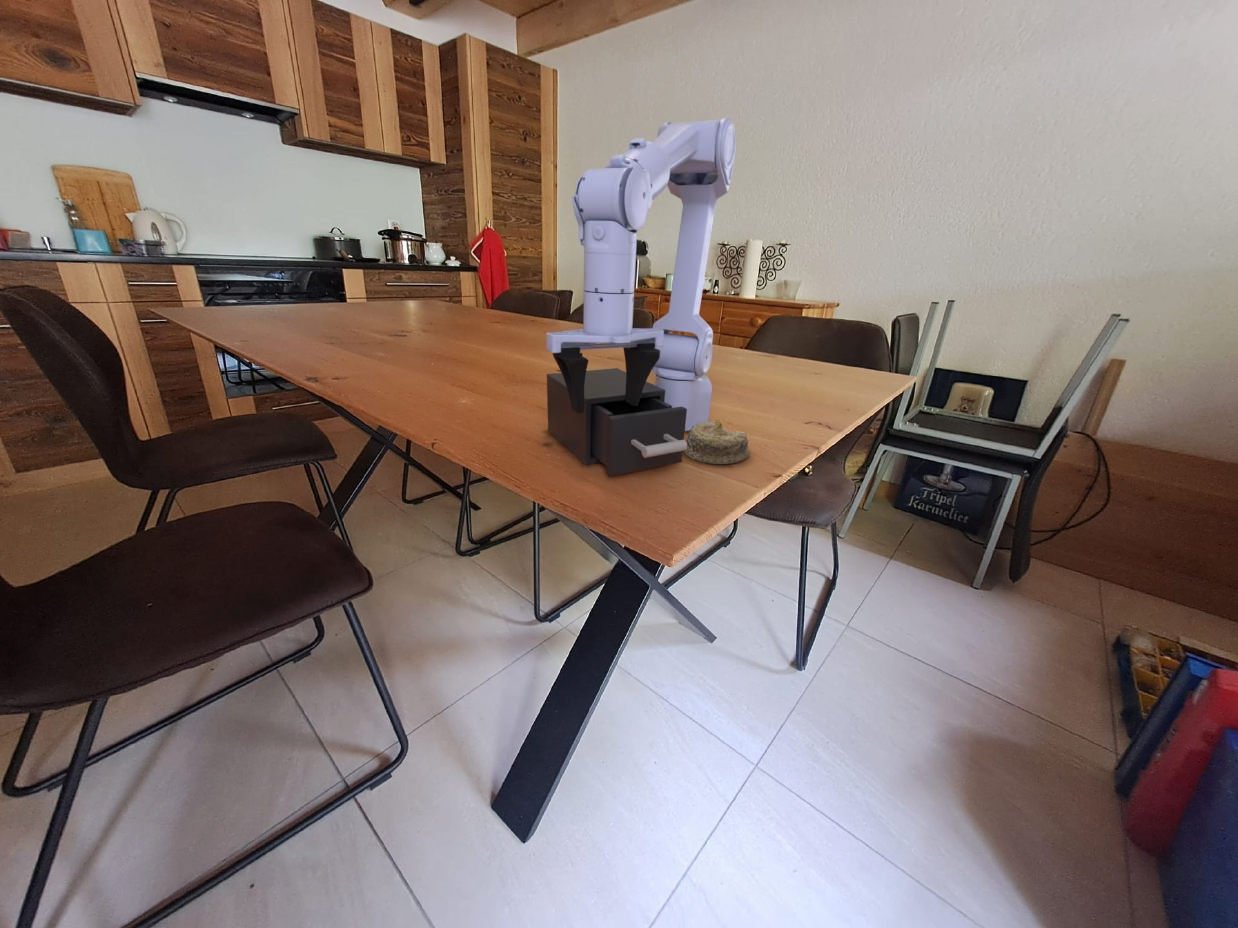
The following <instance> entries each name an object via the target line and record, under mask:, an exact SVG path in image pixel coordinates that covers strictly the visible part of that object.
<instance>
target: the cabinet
mask: <svg viewBox="0 0 1238 928" xmlns="http://www.w3.org/2000/svg"><path fill="white" fill-rule="evenodd" d="M625 393H626V371H625V370H623V369H620V368H618V367H613V368H602V369H591V370H586V376H585V384H584V411H583V413H577V412H576V411H574V410H573V409H572V407H571V401H570V397H569V393H568V389H567V386H566V383H565V380H564V378H563V375H562V373H561V372H557V373H556V372H555V373H547V374H546V398H547V399H546V400H547V401H546V402H547V432H548V433H549V434H550V435H551V436H552V437H554V438H555V439H556V440H557V441H558V442H559V443H560V444H562V446H563V447H565V448H566V449H567V450H568V451H569V452H570V453H571V454H573V456H575V457H576V458H577V459H578V460H579V461H580V462H581V463H582V464H584V465H585V466H588V465H593V464H594V465H595V464H599V463H602V462H601V461H600V460H598V459H597V458H596V457H595V456H594V455H592V454H591V453H590V451H591V404H597V403H605V402H614V401H622V400H626V394H625ZM647 397H655V398H657V399H659V400H661V401H663V402H664V401H665V390H664V389H662V388H659V387H657V386H655V384H653V383H651V382H648V381H646V383H645V385H644V388H643V391H642V394H641V397H640V398H647Z"/></svg>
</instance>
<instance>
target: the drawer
mask: <svg viewBox="0 0 1238 928" xmlns="http://www.w3.org/2000/svg"><path fill="white" fill-rule="evenodd" d="M686 414H687V409H686V408H684V407H675V408H672V406H671V405H669V404H667V403H665V402H663V401H661V400H659V399H657V398H655V397H647V398H640V401H639V404H638V406H633V405H631V404H629V403H627V402H626V400H622V401H614V402H605V403H597V404H591V451H590V453H591V454H592V455H594V456H595V457H596V458H597V459H598V460H600V461H601V462H600V463H602V464H603V465H604V466H605V474H607V475H608V476H609V477H614V476H619V475H623V474H624V475H625V474H628V473H629V474H630V473H634V472H638V471H643V470H648V469H654V468H658V467H664V466H668V465H669V466H670V465H673V464H678V463H682V462H683V452H684V450H686V449H687V440H686V439H685V433H686V431H685V424H686Z"/></svg>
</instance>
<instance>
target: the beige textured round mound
mask: <svg viewBox="0 0 1238 928" xmlns="http://www.w3.org/2000/svg"><path fill="white" fill-rule="evenodd" d="M686 442H687V449H686V450H684V451H683V452H684V454H685V455H686V456H687V457H688V458H690V459H692V460H694V461H696V462H701V463H707V464H713V465H729V464H737V463H739V462H741V461H745V460H746V459H747V458H749V456H750V449H749V439H748V434H746V432H745V431H739V430H736V431H733V432H729V431H728V430H727V429H725V428H724V425H723V423H722V420H721V419H716V420H715V422H713V421H708V423H707V422H703V423H701V424H700V423H698V424H696V425H695V426H692V428H691V429H690V431H688V434H687V439H686Z"/></svg>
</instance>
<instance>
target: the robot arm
mask: <svg viewBox="0 0 1238 928" xmlns="http://www.w3.org/2000/svg"><path fill="white" fill-rule="evenodd" d="M736 141H737V140H736V128H735V125H734V122H733V121H732V119H731V117H728V116H726V117H722V118H719V119H707V120H693V121H683V122H682V121H679V122H672V121H666V122H664V123H663V124H661V125H659V126H658V130H657V136H656V138H655V139H654V140H653V142H652V141H649V140H647V138H645V137H638V138H633V139H631V140H630V141H629V142H628V147H629V148H628V149H627V150H625V151H624V152H623V153H621V154H615V155H613V156H612V157H611V158H610V162H609V163H608V164H606V165H605V166H604V167H603V168H601V167H600V168H589V169H587V170H586V171H585V172H584V174H582V175H580V177H579V178H578V180H577V182H576V185H575V189H574V195H572V208H573V213H574V217H575V219H576V223H577V225H578V240H579V243H580V245H581V246H583V321H582V323H583V324H582V325H583V327H582V328H580V329H572V330H571V329H570V330H566V331H565V330H563V331H555V332H545V337H546V338H545V339H546V341H545V343H546V350H547V351H548V352H550V353H551V354H552V357H553V358H554V361H555V362H556V364H557V366H558V368H559V370H560V373H562V375H563V378H564V380H565V383H566V386H567V389H568V393H569V397H570V401H571V407H572V409H573V410H574V411H576V412H577V413H583V411H584V384H585V376H586V371H588V370H587V368H588V365H589V359H588V358H587V357H584V356H583V352H581V351H589V350H590V351H591V350H605V349H607V350H609V349H619V348H620V349H622V348H623V355H624V359H625V360H624V362H625V372H626V393H625V394H626V402H627V403H629V404H631V405H633V406H638V404H639V401H640V397H641V394H642V391H643V388H644V385H645V383H646V382H648V378H649V376H650V374H651V372H652V374H653V375H655V383H654V385H655V386H657V387H659V388H662V389H664V390H665V401H664V402H665V403H667V404H669V405H671V406H672V408H675V407H684V408H686V409H687V414H686V424H685V432H690V429H691V428H692V426H695V425H696V424H698V423H700V424H701V423H703V422H707V423H709V421H710V420H709V419H710V410H711V403H712V396H713V388H712V387H713V386H712V383H711V380H710V378H709V377H708V376H707V375H706V374H707V372H708V371H709V369H710V367H711V364H712V360H713V354H714V353H713V351H714V346H713V340H714V331H713V329H712V327H711V326H710V325H709V324H708V322H707V321H706V320H704V318H703V317H702V316H701V315H700V311H701V304H702V303H701V302H702V297H703V289H704V284H705V276H706V270H707V264H708V257H709V252H710V251H709V250H710V243H711V238H712V230H713V224H714V217H715V213H716V208H717V204H718V200H719V199H720V198H722V197H723V196H724V195H726V194H728V192H729V190H730V184H731V182H732V177H733V171H734V164H735V158H736V152H737V151H736V150H737V144H736ZM666 188H668V190H669V193H670V194H671V195H673V196H675V197H677V198H678V199H680V200H681V203H682V210H681V218H680V224H679V225H680V226H679V231H678V232H679V233H678V240H677V247H676V256H675V262H674V270H673V276H672V284H671V293H670V300H669V305H668V306H669V307H668V312H667V313H666V314H665V315H663V316H662V317H661V318H659V319H657V320H656V321H655V322H654V323H653V324H652V328H643V327H642V328H641V327H640V328H639V327H638V328H637V327H635V328H633V321H634V320H633V319H634V305H635V304H634V303H635V283H636V265H637V264H636V262H637V245H638V243H637V242H638V230H640V229H643V228H644V226H645V224H646V222H647V219H648V214H649V210H650V209H651V207H652V204H653V201H654V200H655V199H656V198H657V197H658V196H659V195H660V194H661V193H662V192H663V191H664V190H665V189H666ZM670 332H683V333H689V334H690V333H691V334H694V336H693V335H685V334H677V333H670Z"/></svg>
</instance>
